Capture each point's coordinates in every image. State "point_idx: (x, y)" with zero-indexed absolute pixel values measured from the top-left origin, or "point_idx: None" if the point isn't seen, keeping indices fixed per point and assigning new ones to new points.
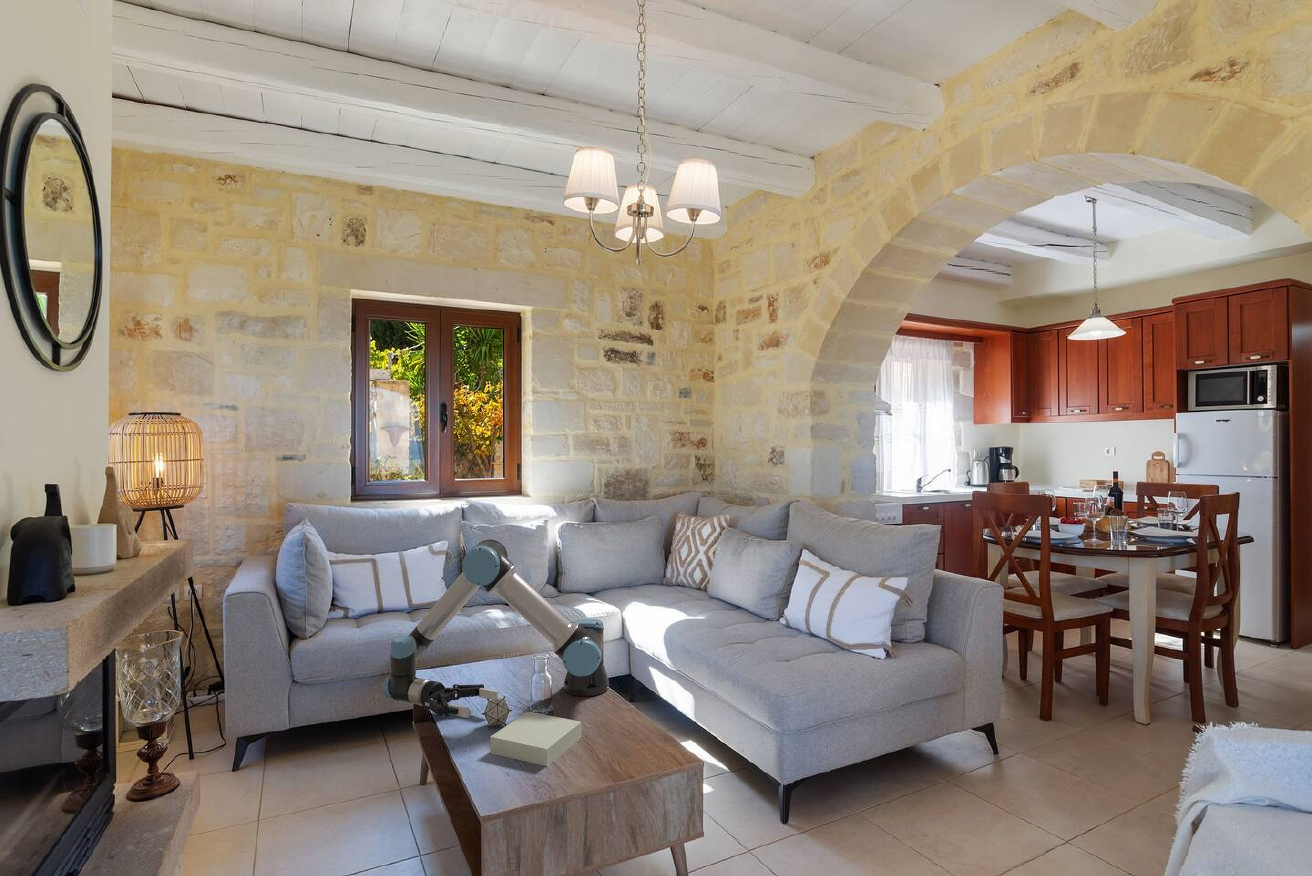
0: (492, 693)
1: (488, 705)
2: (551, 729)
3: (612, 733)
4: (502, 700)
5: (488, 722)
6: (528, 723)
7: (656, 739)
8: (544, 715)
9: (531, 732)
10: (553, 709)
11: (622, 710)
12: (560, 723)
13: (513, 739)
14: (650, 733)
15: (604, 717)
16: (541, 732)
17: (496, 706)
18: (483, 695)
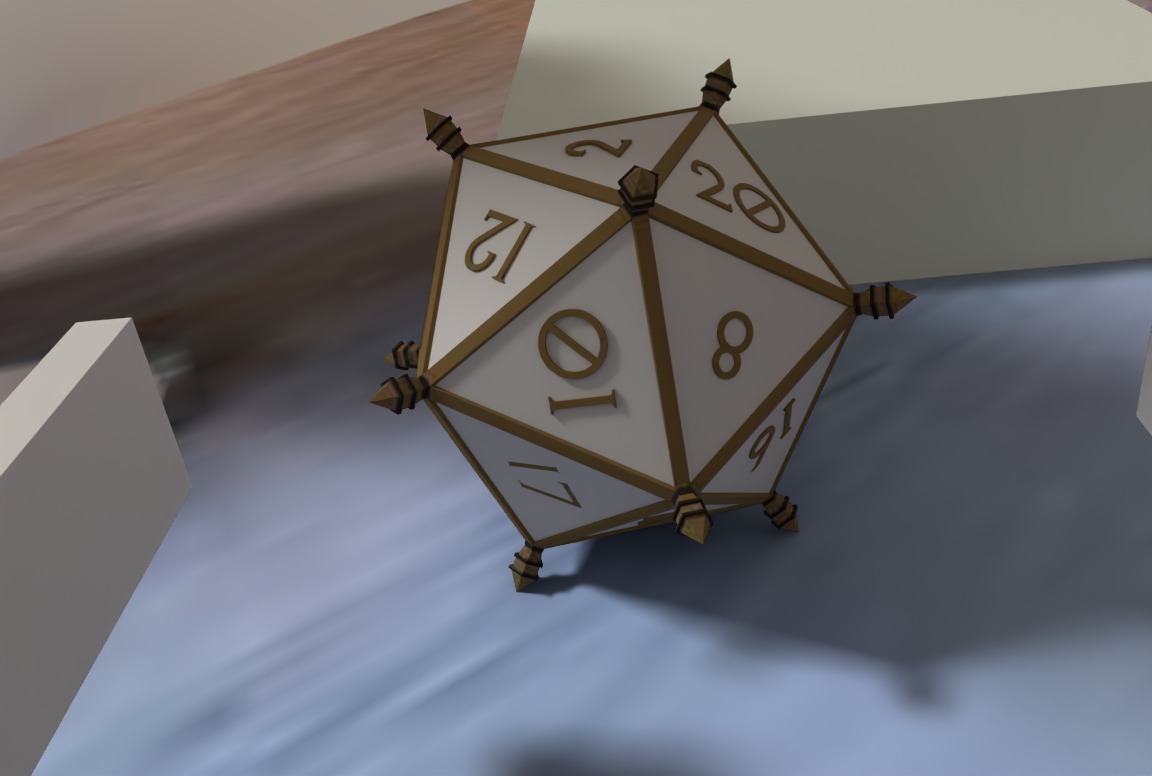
0: (103, 425)
1: (728, 223)
2: (749, 2)
3: (430, 82)
4: (524, 139)
5: (796, 437)
6: (754, 66)
7: (436, 22)
8: (528, 79)
9: (890, 15)
10: (30, 356)
11: (68, 148)
12: (621, 15)
13: (1101, 9)
14: (378, 41)
15: (197, 153)
16: (839, 1)
17: (727, 136)
18: (3, 709)
